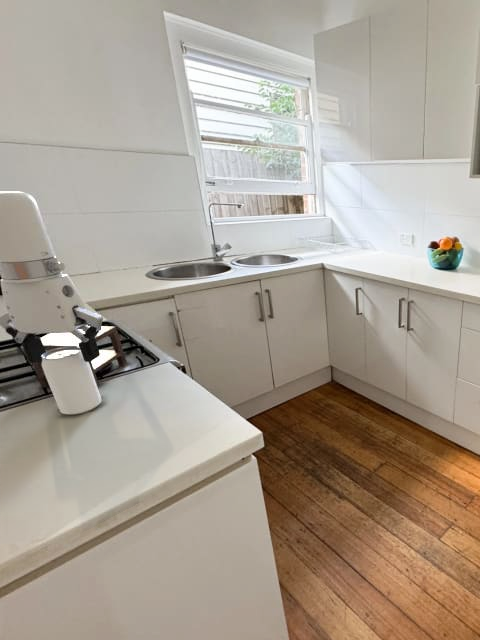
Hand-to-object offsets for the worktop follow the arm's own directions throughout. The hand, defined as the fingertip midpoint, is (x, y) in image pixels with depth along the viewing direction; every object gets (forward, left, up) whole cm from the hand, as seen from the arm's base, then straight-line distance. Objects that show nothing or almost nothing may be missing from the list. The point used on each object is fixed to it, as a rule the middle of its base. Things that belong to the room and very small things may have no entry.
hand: (66, 359), depth 72 cm
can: (0, 0, -11) cm, 11 cm away
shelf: (-8, +13, -11) cm, 19 cm away
